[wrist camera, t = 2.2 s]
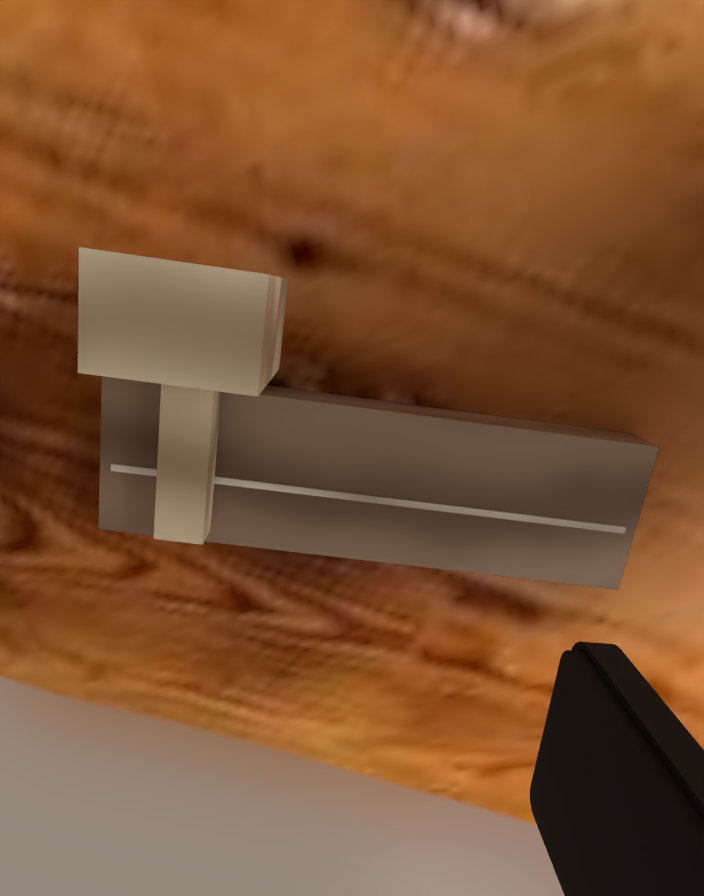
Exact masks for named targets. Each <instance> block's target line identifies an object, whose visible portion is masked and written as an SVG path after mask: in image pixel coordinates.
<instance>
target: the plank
mask: <svg viewBox="0 0 704 896" xmlns="http://www.w3.org/2000/svg"><path fill="white" fill-rule="evenodd" d="M160 400H161V384H158V383H151V382H143V381H135V380H128V379H120V378H113V377H105V376H102V391H101V437H100V483H99V529H101V530H109V531H118V532H126V533H135V534H144V535H152V536H154V521H155V501H156V481H157V460H158V440H159V420H160ZM658 450H659V447H658V446H656V445H654V444H652V443H650V442H648V441H646V440H644V439H642V438H640V437H637V436H635V435H633V434H629V433H622V432H614V431H607V430H599V429H591V428H584V427H576V426H569V425H561V424H554V423H546V422H539V421H531V420H524V419H516V418H509V417H501V416H494V415H486V414H479V413H471V412H464V411H456V410H448V409H441V408H433V407H426V406H418V405H411V404H403V403H396V402H388V401H381V400H373V399H366V398H358V397H351V396H343V395H336V394H328V393H321V392H313V391H305V390H298V389H290V388H283V387H275V386H268V385H266V387H265V388H264V389H263V390H262V392H261V393H260V394H259V396H258V397H257V396H249V395H242V394H234V393H227V392H221V400H220V413H219V426H218V439H217V452H216V465H215V478H214V491H213V503H212V516H211V529H210V532H209V533H208V535H207V537H206V539H205V541H204V542H212V543H221V544H229V545H238V546H247V547H255V548H264V549H272V550H281V551H289V552H298V553H307V554H315V555H324V556H332V557H341V558H350V559H358V560H367V561H375V562H384V563H392V564H401V565H410V566H418V567H427V568H435V569H444V570H452V571H461V572H470V573H478V574H487V575H495V576H504V577H513V578H521V579H530V580H538V581H547V582H555V583H564V584H573V585H581V586H590V587H598V588H607V589H615V590H618V588H619V584H620V581H621V577H622V574H623V571H624V567H625V564H626V560H627V557H628V553H629V550H630V547H631V543H632V540H633V536H634V533H635V529H636V526H637V523H638V519H639V516H640V512H641V509H642V505H643V502H644V498H645V495H646V492H647V488H648V485H649V481H650V478H651V474H652V471H653V468H654V464H655V461H656V457H657V454H658Z"/></svg>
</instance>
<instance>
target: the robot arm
mask: <svg viewBox="0 0 704 896" xmlns="http://www.w3.org/2000/svg"><path fill="white" fill-rule="evenodd" d="M530 802H531V808H532V812H533V816H534V818H535V821H536V824H537V826H538V829H539V831H540V834H541V836H542V839H543V841H544V844H545V846H546V849H547V852H548V854H549V857H550V859H551V862H552V864H553V867H554V870H555V872H556V875H557V877H558V880H559V882H560V884H561V887H562V890H563V893H564V895H565V896H704V750H703V749H702V748H701V746H700V745H699V744H698V743H697V742H696V740H695V739H694V738H693V737H692V735H691V734H690V733H689V732H688V731H687V729H686V728H685V727H684V726H683V725H682V723H681V722H680V721H679V720H678V718H677V717H676V716H675V715H674V714H673V712H672V711H671V710H670V709H669V707H668V706H667V705H666V704H665V703H664V701H663V700H662V699H661V698H660V697H659V695H658V694H657V693H656V692H655V690H654V689H653V688H652V687H651V686H650V684H649V683H648V682H647V681H646V679H645V678H644V677H643V676H642V675H641V673H640V672H639V671H638V670H637V669H636V667H635V666H634V665H633V664H632V662H631V661H630V660H629V659H628V658H627V656H626V655H625V654H624V653H623V651H622V650H621V649H620V648H619V647H618V646H616V645H613V644H604V643H590V642H577V643H575V645H574V646H573V647H572V650H571V651H570V650H566V651H564V653H563V654H562V656H561V659H560V663H559V667H558V672H557V676H556V680H555V684H554V689H553V693H552V697H551V702H550V706H549V710H548V714H547V719H546V723H545V727H544V731H543V736H542V740H541V744H540V748H539V753H538V757H537V761H536V765H535V770H534V774H533V778H532V782H531V788H530Z"/></svg>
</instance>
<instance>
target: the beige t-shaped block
mask: <svg viewBox="0 0 704 896" xmlns="http://www.w3.org/2000/svg"><path fill="white" fill-rule="evenodd" d="M287 288H288V279H286V278H282V277H278V276H274V275H269V274H263V273H256V272H249V271H242V270H235V269H228V268H221V267H214V266H207V265H200V264H193V263H186V262H179V261H172V260H165V259H158V258H151V257H144V256H137V255H131V254H124V253H117V252H110V251H103V250H96V249H89V248H82V247H79V292H78V373H82V374H90V375H97V376H105V377H113V378H120V379H128V380H135V381H143V382H151V383H158V384H161V400H160V420H159V440H158V460H157V481H156V501H155V521H154V539H158V540H167V541H176V542H184V543H193V544H201V545H202V544H203V543H204V541H205V539H206V537H207V535H208V533H209V532H210V529H211V516H212V503H213V491H214V478H215V465H216V452H217V439H218V426H219V413H220V400H221V392H227V393H234V394H242V395H249V396H257V397H258V396H259V394H260V393H261V392H262V390H263V389H264V388H265V387H266V385H267V384H268V383H269V382H270V380H271V379H272V378H273V376H274V375H275V374H276V373H277V371H278V370H279V365H280V356H281V346H282V336H283V327H284V317H285V307H286V298H287Z"/></svg>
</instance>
